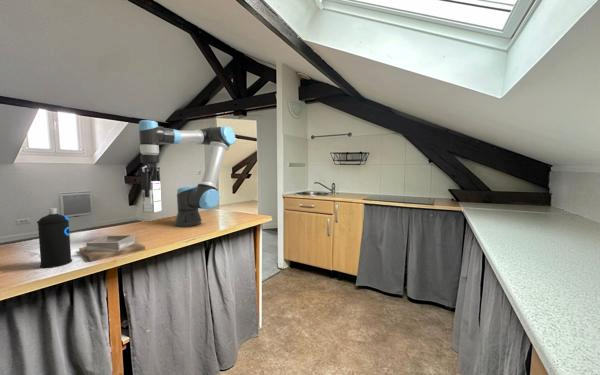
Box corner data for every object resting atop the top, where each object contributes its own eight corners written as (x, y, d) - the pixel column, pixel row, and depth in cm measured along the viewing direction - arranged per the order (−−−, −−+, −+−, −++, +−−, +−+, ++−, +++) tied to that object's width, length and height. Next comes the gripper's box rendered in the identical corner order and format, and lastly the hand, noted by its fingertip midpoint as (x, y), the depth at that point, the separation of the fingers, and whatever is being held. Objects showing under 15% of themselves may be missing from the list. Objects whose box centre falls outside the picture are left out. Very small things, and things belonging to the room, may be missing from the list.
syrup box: (162, 210, 120) (161, 181, 119) (153, 212, 114) (152, 181, 113) (151, 210, 121) (149, 180, 120) (142, 212, 115) (141, 181, 114)
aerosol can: (43, 270, 82) (39, 211, 81) (36, 265, 87) (32, 208, 85) (75, 262, 89) (72, 207, 88) (67, 258, 94) (64, 206, 92)
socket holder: (130, 241, 115) (129, 231, 115) (145, 249, 104) (144, 237, 104) (79, 251, 101) (78, 239, 101) (90, 261, 90) (89, 248, 90)
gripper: (151, 155, 125) (153, 200, 126) (129, 153, 105) (132, 206, 107) (167, 155, 125) (169, 200, 127) (147, 153, 106) (150, 206, 108)
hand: (152, 203), depth 117 cm, fingers closed on syrup box, 6 cm apart
